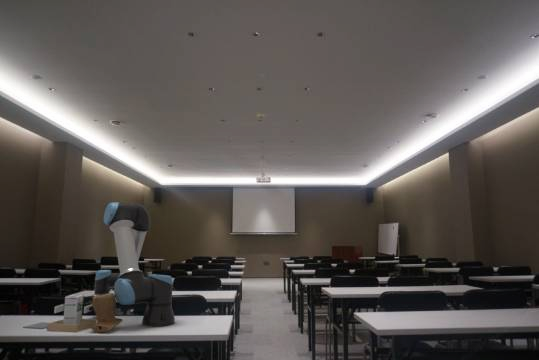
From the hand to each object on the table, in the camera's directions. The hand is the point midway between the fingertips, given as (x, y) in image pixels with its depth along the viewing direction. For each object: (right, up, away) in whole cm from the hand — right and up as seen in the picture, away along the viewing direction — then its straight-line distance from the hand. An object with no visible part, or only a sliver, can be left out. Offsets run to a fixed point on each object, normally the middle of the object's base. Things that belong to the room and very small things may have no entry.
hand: (69, 310), depth 171 cm
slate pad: (-17, -10, +7) cm, 20 cm away
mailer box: (+1, -10, +8) cm, 13 cm away
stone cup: (+17, -8, -2) cm, 19 cm away
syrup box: (0, -9, +1) cm, 9 cm away
